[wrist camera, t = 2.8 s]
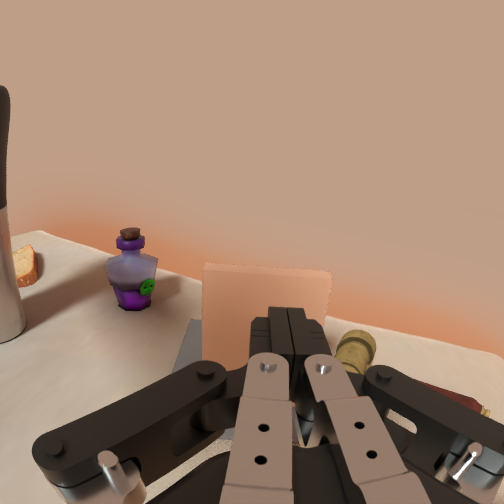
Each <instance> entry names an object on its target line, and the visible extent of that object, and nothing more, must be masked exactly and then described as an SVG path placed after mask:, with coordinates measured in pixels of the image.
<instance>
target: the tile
mask: <svg viewBox="0 0 504 504" xmlns="http://www.w3.org/2000/svg"><path fill="white" fill-rule="evenodd" d="M331 284H332V277H331V275H330V273H329V272H328V271H319V270H304V269H289V268H275V267H274V268H273V267H260V266H246V265H233V264H220V263H205V265H204V268H203V270H202V360H209V361H214V362H217V363H219V364H221V365H222V366H223V367H225V369H226V371H230V370H235V369H239V368H241V367H243V366H245V365H246V364H247V363H248V360H249V342H250V329H251V322H252V321H253V320H254V318H255V317H267V315H268V307H269V306H274V307H295V308H304V311H305V315H306V318H307V319H315V320H316V321H317V322H318V323H319V324H320V325H322V328H323V326H324V321H325V316H326V311H327V306H328V300H329V295H330V290H331ZM292 407H295V402H292Z"/></svg>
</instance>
